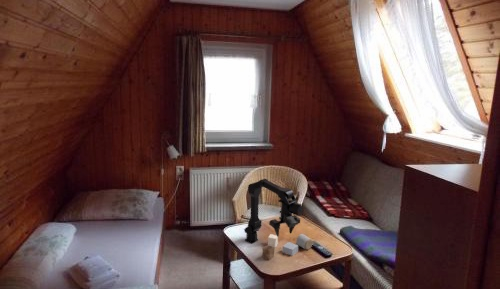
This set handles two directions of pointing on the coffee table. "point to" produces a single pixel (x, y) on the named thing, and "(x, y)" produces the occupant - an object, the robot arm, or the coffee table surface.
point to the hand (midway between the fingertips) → (284, 234)
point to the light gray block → (290, 248)
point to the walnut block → (268, 252)
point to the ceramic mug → (304, 241)
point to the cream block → (273, 240)
